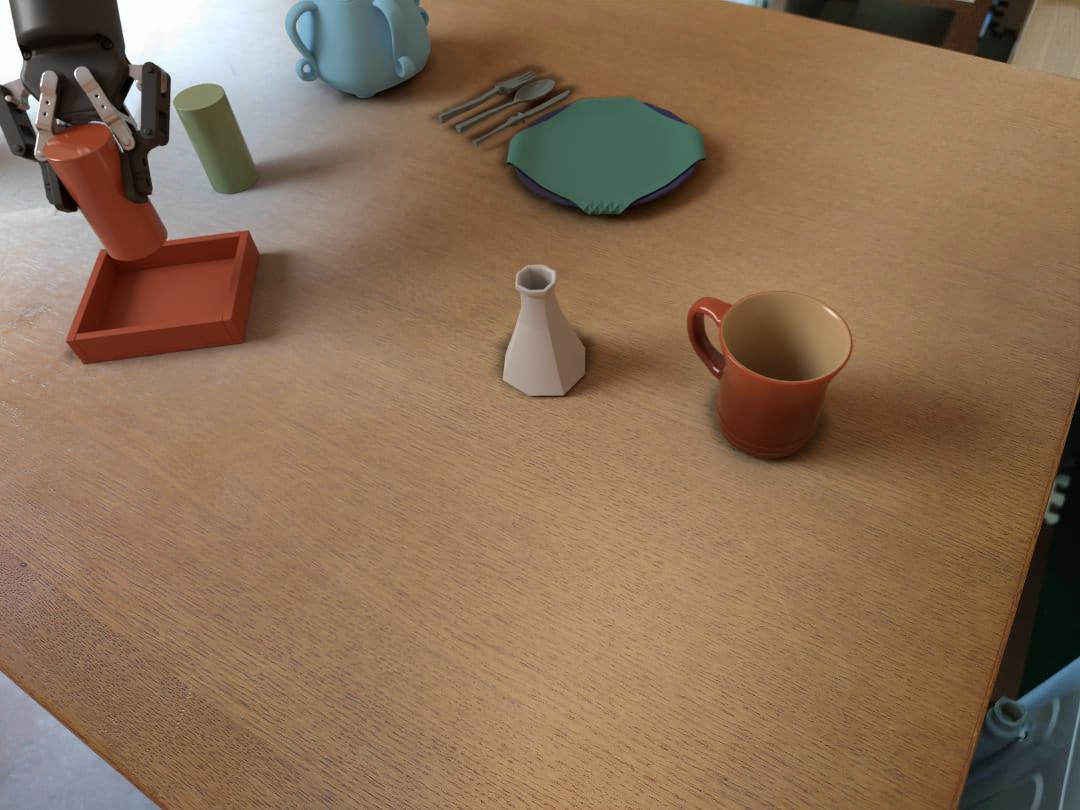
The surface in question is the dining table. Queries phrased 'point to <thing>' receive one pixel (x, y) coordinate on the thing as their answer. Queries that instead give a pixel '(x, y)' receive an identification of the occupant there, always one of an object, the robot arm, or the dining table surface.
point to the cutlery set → (593, 147)
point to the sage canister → (216, 137)
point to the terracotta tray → (167, 299)
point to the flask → (542, 339)
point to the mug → (770, 366)
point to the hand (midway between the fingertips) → (103, 205)
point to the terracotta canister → (104, 191)
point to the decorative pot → (359, 42)
